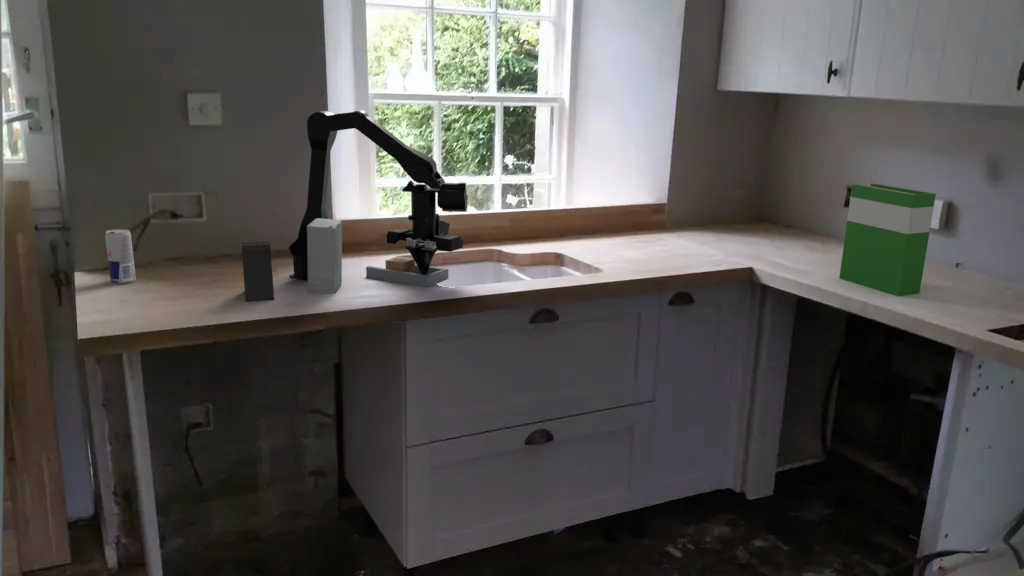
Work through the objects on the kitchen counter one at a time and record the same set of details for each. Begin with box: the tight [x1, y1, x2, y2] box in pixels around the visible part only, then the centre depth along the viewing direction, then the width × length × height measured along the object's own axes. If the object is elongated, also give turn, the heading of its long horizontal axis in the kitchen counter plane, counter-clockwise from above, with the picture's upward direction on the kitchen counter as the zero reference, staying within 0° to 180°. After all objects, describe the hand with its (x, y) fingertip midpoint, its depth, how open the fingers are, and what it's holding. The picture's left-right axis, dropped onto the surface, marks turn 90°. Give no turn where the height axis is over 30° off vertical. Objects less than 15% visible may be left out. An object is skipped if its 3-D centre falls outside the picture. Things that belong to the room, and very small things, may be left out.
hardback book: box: [839, 182, 937, 297], centre depth 193 cm, size 18×7×24 cm, turn 25°
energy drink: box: [104, 228, 137, 285], centre depth 184 cm, size 5×5×12 cm
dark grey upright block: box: [240, 241, 275, 303], centre depth 175 cm, size 9×6×12 cm, turn 19°
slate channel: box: [365, 263, 449, 288], centre depth 194 cm, size 9×18×2 cm, turn 62°
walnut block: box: [385, 255, 416, 273], centre depth 194 cm, size 5×5×4 cm
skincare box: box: [307, 218, 343, 294], centre depth 181 cm, size 8×7×16 cm
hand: (424, 274), depth 191 cm, fingers closed
